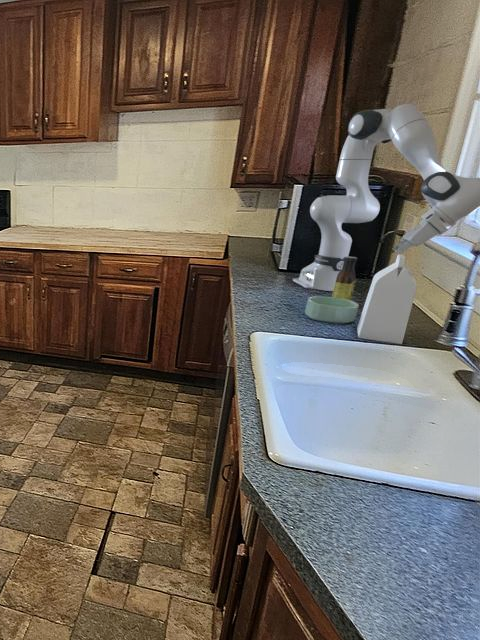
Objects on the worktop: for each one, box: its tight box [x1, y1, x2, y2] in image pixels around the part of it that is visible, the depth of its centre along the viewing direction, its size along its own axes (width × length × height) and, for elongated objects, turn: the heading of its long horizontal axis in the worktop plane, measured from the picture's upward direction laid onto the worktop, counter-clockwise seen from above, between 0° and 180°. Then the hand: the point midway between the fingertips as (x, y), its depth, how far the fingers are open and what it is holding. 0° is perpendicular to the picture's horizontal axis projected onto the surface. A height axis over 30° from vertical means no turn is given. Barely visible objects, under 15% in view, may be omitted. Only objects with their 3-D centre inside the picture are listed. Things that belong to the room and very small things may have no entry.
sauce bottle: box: [331, 256, 358, 301], centre depth 197 cm, size 6×6×20 cm
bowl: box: [304, 295, 360, 325], centre depth 189 cm, size 16×16×6 cm
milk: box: [356, 253, 418, 345], centre depth 167 cm, size 12×12×26 cm
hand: (395, 251), depth 186 cm, fingers open, 8 cm apart
